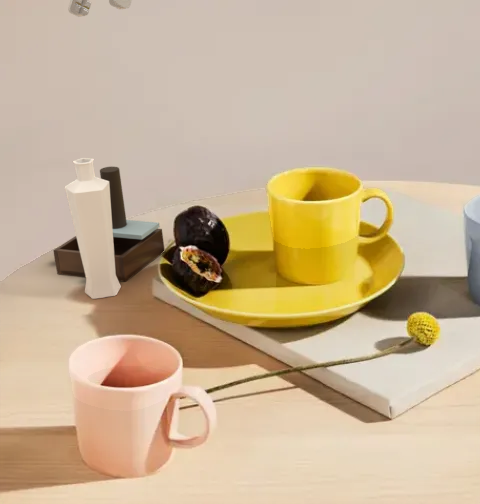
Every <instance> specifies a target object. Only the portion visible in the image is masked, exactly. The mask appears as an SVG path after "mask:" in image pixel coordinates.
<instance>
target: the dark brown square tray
mask: <svg viewBox="0 0 480 504" xmlns="http://www.w3.org/2000/svg"><path fill="white" fill-rule="evenodd" d="M164 242H165V241H164V235H163V228H158V229H156V230H155V231H153V232H152V233H151V234H149V235H148V236H146V237H145V238H144V239H142V240H140V239H129V238H119V237H113V244H114V258H115V273H116V277H117V279H118V281H119V282H127V281H129V280H130V279H131V278H132V277H134V276H135V275H136V274H138V273H139V272H141V271H142V270H143V269H144V268H145V267H147V266H148V265H149V264H151V262H153V261H155V260H156V259H157V258H159V257H160V256H161V255H162V254H163V253H162V252H163V251H164V250H165V243H164ZM52 251H53V257H54V262H55V269H56V274H57V275H62V276H63V275H64V276H72V277H73V276H74V277H82V278H86V275H85V271H84V267H83V263H82V259H81V254H80V250H79V246H78V242H77V238H76V235H75V236H73V237H72V238H70V239H68V240H67V241H65V242H64V243H62V244H61V245H59V246H57V247H56V248H55V249H52ZM161 253H162V254H161Z"/></svg>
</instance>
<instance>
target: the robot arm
mask: <svg viewBox="0 0 480 504" xmlns="http://www.w3.org/2000/svg"><path fill="white" fill-rule="evenodd" d="M132 1H133V0H108V3H109V5H110V6H112V7H114V8H116V9H118V10H125V9H129V8H130V7H131V4H132ZM91 5H92V2H91V1H90V0H70V2H69V4H68V12H69V13H70V14H72V15H74V16H76V17H78V18H79V17H85V16H88V15H89V11H90V8H91Z"/></svg>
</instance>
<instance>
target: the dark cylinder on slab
mask: <svg viewBox="0 0 480 504" xmlns="http://www.w3.org/2000/svg"><path fill="white" fill-rule="evenodd" d="M99 175H100V178H101V179H104V180H107V181H109V186H110V200H111V215H112V229H113V237H119V238H129V239H140V240H142V239H144V238H145V237H146V236H148V235H149V234H151V233H152V232H153V231H155V230H156V229H160V223H159V222H155V221H145V220H133V219H127V216H126V215H127V213H126V208H125V200H124V193H123V186H122V179H121V171H120V167H118V166H105V167H102V168H100V169H99Z"/></svg>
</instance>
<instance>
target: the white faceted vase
mask: <svg viewBox="0 0 480 504" xmlns="http://www.w3.org/2000/svg"><path fill="white" fill-rule="evenodd" d="M94 161H95V159H94V158H92V157H91V158H89V157H81V158H78V159H75V160H73V161H72V163H73V164H74V165H73V166H74V170H75V176H76V178H75V179H74V180H73V181H71V182H69V183H68V184H66V185H65V186H64V191H65V196H66V200H67V205H68V208H69V212H70V217H71V221H72V224H73V229H74V233H75V236H76V238H77V242H78V246H79V250H80V254H81V259H82V263H83V267H84V271H85V275H86V277H85V286H84V293H85V294H86V295H87V296H88V297H90V298H91V299H92V300H96V299H97V300H98V299H103V298H110V297H115V296H116V295H118V293H119V291H120V289H121V287H122V286H121V284H120V281H118V279H117V277H116V273H115V258H114V244H113V229H112V215H111V200H110V186H109V181H107V180H104V179H101V177H98V176H96V173H95V166H94Z"/></svg>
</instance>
